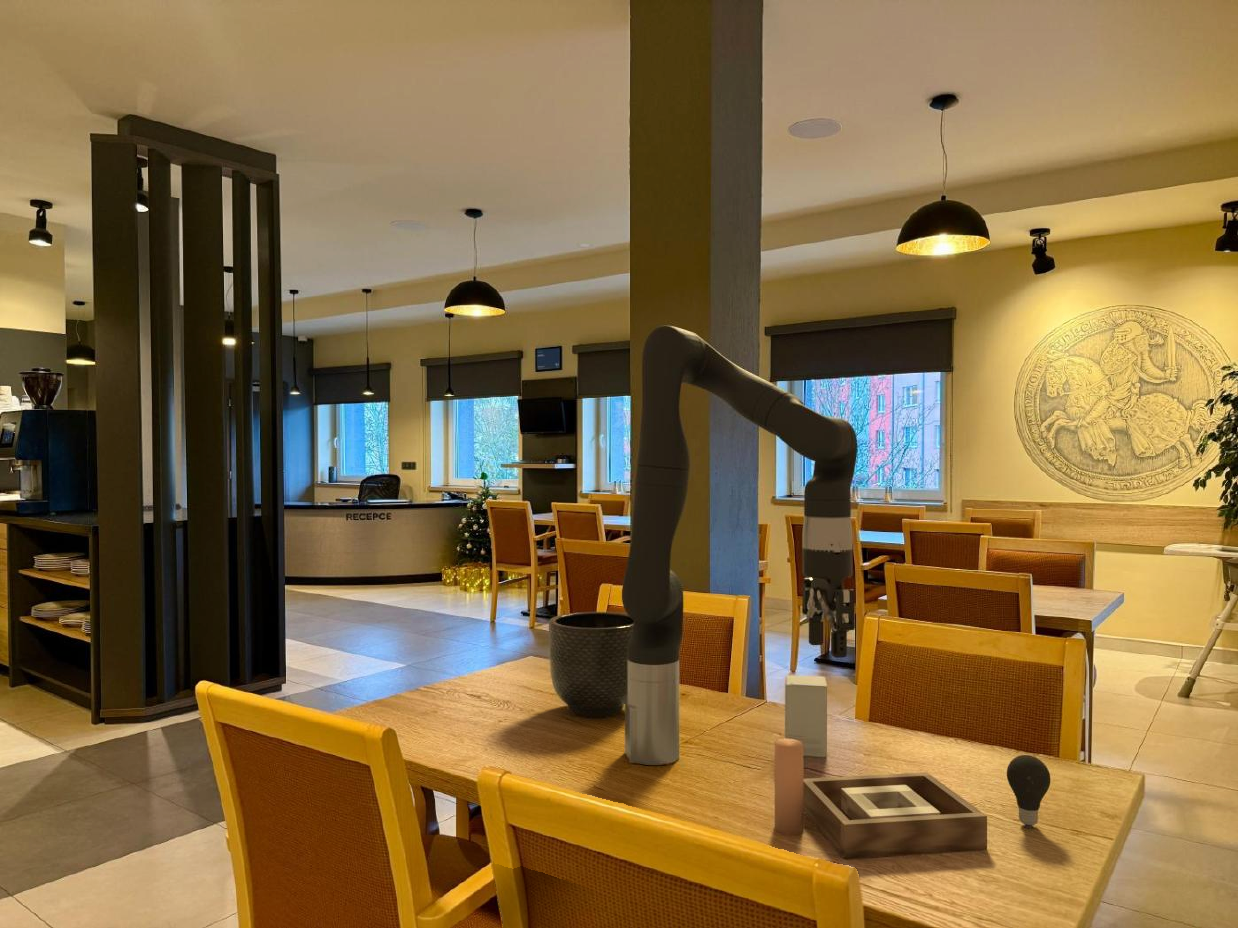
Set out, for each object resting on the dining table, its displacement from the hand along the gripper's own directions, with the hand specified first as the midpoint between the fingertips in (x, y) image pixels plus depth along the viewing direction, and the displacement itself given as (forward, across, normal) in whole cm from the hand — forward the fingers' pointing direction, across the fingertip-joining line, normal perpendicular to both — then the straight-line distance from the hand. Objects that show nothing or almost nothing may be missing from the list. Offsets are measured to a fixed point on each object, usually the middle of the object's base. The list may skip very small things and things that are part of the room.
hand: (827, 650), depth 129 cm
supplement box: (+23, -21, +5) cm, 32 cm away
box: (+23, +12, +4) cm, 26 cm away
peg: (+23, +9, -10) cm, 26 cm away
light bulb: (+23, +14, +24) cm, 36 cm away
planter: (+23, -51, -29) cm, 63 cm away
